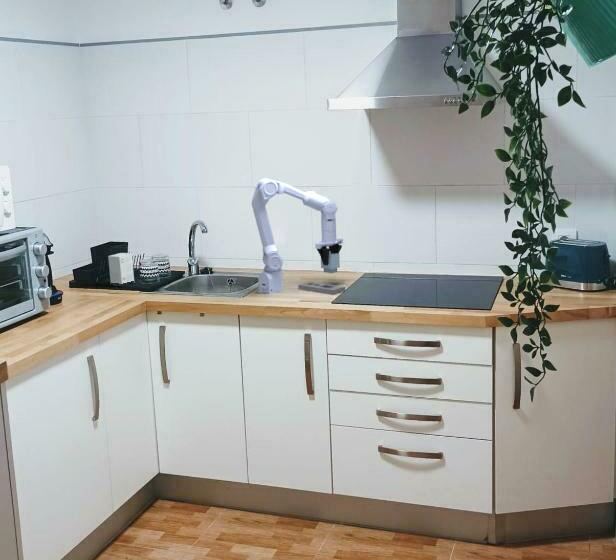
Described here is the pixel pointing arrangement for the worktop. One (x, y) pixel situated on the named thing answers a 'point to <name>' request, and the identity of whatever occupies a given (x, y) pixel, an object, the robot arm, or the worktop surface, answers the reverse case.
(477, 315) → the worktop surface
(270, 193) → the robot arm
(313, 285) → the grey control panel
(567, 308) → the worktop surface
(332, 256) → the block
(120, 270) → the small box
